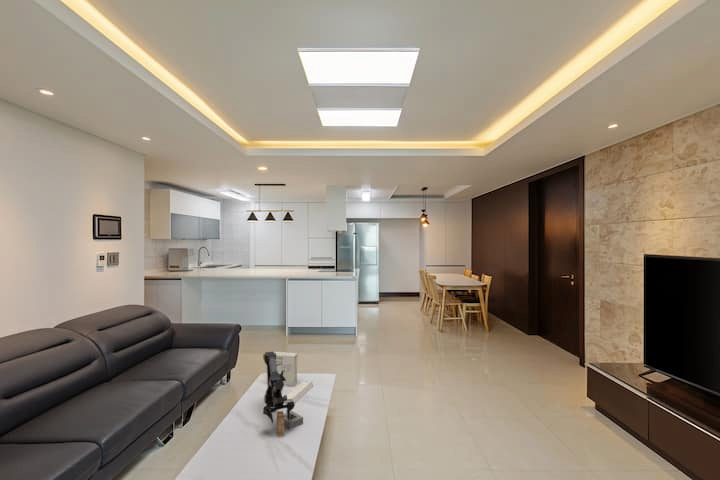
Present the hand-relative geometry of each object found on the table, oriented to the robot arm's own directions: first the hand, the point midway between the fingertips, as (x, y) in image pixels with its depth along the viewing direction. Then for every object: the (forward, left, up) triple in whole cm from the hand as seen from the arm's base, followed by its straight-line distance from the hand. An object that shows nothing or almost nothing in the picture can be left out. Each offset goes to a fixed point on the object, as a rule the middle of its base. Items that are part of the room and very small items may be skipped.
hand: (280, 422), depth 211 cm
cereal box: (-60, +50, -8) cm, 79 cm away
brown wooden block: (0, 0, -8) cm, 8 cm away
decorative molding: (-36, +45, -8) cm, 58 cm away
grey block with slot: (-6, +13, -7) cm, 16 cm away
